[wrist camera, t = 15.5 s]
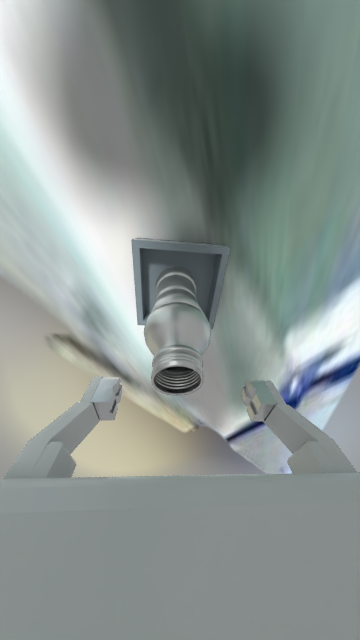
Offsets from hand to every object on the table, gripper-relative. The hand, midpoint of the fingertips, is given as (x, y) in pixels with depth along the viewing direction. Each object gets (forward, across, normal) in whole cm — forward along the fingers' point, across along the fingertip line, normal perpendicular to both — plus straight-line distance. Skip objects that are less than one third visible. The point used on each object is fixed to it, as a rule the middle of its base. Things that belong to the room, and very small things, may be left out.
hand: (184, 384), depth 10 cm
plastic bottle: (+21, 0, 0) cm, 21 cm away
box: (+22, 0, 0) cm, 22 cm away
